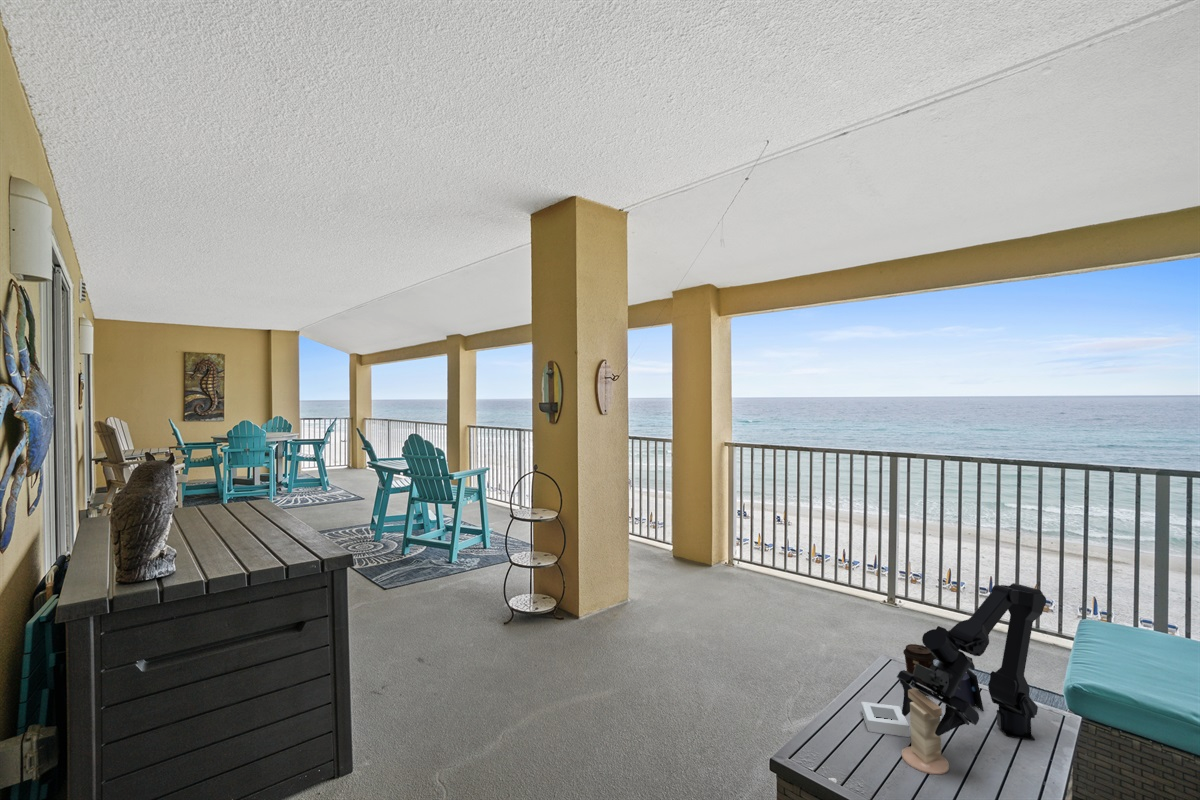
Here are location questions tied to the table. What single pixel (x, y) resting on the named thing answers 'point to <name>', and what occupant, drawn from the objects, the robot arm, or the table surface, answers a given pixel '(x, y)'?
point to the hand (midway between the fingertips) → (919, 724)
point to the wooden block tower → (924, 726)
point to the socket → (885, 725)
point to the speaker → (970, 690)
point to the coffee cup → (918, 658)
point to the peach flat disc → (917, 763)
